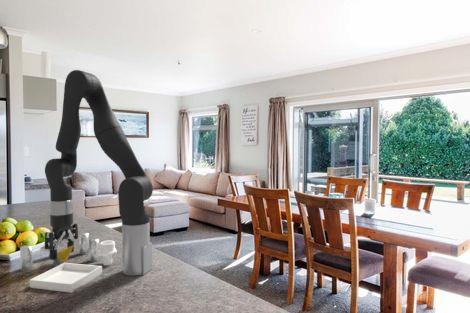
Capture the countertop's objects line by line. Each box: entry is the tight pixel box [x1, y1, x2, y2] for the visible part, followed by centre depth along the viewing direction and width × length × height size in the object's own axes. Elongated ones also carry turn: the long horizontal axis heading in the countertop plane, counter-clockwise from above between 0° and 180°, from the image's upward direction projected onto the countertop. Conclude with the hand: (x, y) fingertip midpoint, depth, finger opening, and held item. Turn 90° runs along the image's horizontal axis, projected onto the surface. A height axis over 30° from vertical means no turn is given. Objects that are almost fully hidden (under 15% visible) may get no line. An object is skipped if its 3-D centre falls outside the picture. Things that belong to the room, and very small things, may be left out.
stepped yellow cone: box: [52, 244, 75, 267], centre depth 122 cm, size 5×5×10 cm
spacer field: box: [19, 232, 101, 272], centre depth 125 cm, size 22×23×8 cm
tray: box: [29, 262, 103, 294], centre depth 108 cm, size 15×15×2 cm
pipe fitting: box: [98, 239, 118, 266], centre depth 123 cm, size 6×7×8 cm
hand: (62, 255), depth 123 cm, fingers open, 8 cm apart
